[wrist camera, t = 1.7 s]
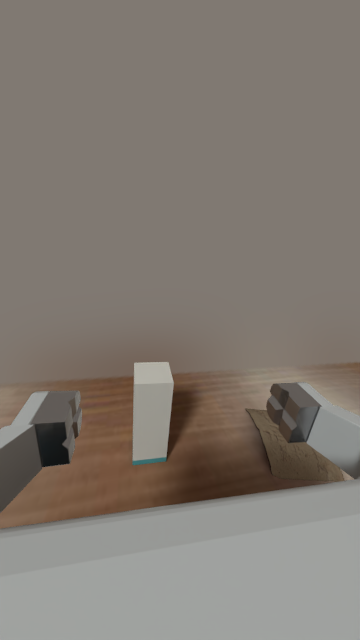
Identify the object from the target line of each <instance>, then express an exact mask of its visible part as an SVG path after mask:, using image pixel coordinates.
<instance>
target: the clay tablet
mask: <svg viewBox="0 0 360 640" xmlns="http://www.w3.org/2000/svg"><path fill="white" fill-rule="evenodd" d="M246 410H247V411H248V412H249V414H251V417H252V418H253V420H254V422H255V424H256V426H257V427H258V428H259V429H260V434H261V437H262V438H263V443H264V445H265V447H266V452H267V455H268V457H269V461H270V465H271V472H272V475H274V476H277V477H278V478H281V479H302V480H317V481H334V482H340V481H344V478H343V474H342V472H341V471H340V468H339V467H338V466H337V465H335V464H334V463H333V462H331V461H330V460H329V459H327V458H326V457H324V456H323V455H322V454H320V453H319V452H318V451H316V450H315V449H314V448H312V447H311V446H310V445H308V444H307V442H299V443H287V441H286V440H285V438H284V437H283V436H282V434H281V433H280V432H279V430H278V427H279V425H277V424H275V423H274V422H272V420H271V419H270V417H269V415H268V413H267V411H266V410H255V409H246Z"/></svg>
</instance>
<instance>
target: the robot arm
mask: <svg viewBox="0 0 360 640" xmlns="http://www.w3.org/2000/svg"><path fill="white" fill-rule="evenodd" d="M270 392H271V394H272V396H271V397H270V398H269V399H268V401H267V405H266V407H267V413H268V415H269V417H270V419H271V420H272V422H274V423H275V424H277V425H279V427H278V430H279V432H280V433H281V434H282V436H283V437H284V438H285V440H286V441H287V443H299V442H307V444H308V445H310V446H311V447H312V448H314V449H315V450H316V451H318V452H319V453H320V454H322V455H323V456H324V457H326V458H327V459H329V460H330V461H331V462H333V463H334V464H335V465H337V466H338V467H339V468H341V469H342V470H343V471H345V472H346V473H347V474H349V475H350V476H351V477H353V478H354V479H355V480H347V481H340V482H333V483H326V484H319V485H311V486H304V487H297V488H290V489H283V490H275V491H268V492H261V493H254V494H247V495H240V496H233V497H225V498H218V499H211V500H204V501H197V502H190V503H182V504H175V505H168V506H160V507H153V508H146V509H139V510H131V511H124V512H117V513H110V514H102V515H95V516H88V517H81V518H74V519H66V520H59V521H52V522H45V523H38V524H31V525H23V526H16V527H9V528H2V529H0V640H360V416H358V415H356V414H354V413H352V412H350V411H347V410H345V409H343V408H341V407H339V406H333V405H332V404H331V403H330V402H329V401H328V400H326V399H325V398H324V397H323V396H322V395H321V394H320V393H318V392H317V391H316V390H315V389H314V388H313V387H311V386H310V385H309V384H308V383H306V382H295V383H281V384H273V385H272V387H271V390H270ZM80 400H81V398H80V392H79V391H50V392H49V391H43V392H34V393H33V394H32V395H31V396H30V398H29V399H28V401H27V402H26V404H25V405H24V406H23V408H22V409H21V411H20V412H19V414H18V415H17V417H16V418H15V420H14V421H13V423H12V424H11V426H5V427H3V428H2V429H0V513H1V512H2V511H3V510H4V509H5V508H6V506H7V505H8V504H9V503H10V502H11V501H12V500H13V499H14V498H15V497H16V496H17V495H18V494H19V493H20V492H21V491H22V490H23V488H24V487H25V486H26V485H27V484H28V483H29V482H30V481H31V480H32V479H33V478H34V477H35V476H36V475H37V474H38V473H39V472H40V471H41V469H42V467H48V466H56V465H64V464H70V462H71V458H72V455H73V452H74V449H75V438H76V437H78V436H79V432H80V428H81V422H82V409H81V408H80V407H79V403H80Z"/></svg>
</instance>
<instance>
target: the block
mask: <svg viewBox="0 0 360 640" xmlns="http://www.w3.org/2000/svg"><path fill="white" fill-rule="evenodd" d="M173 385H174V382H173V378H172V374H171V371H170V367H169V363H168V362H149V363H134V404H133V465H138V464H147V463H155V462H164V461H166V457H167V447H168V436H169V426H170V416H171V405H172V395H173Z"/></svg>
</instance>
